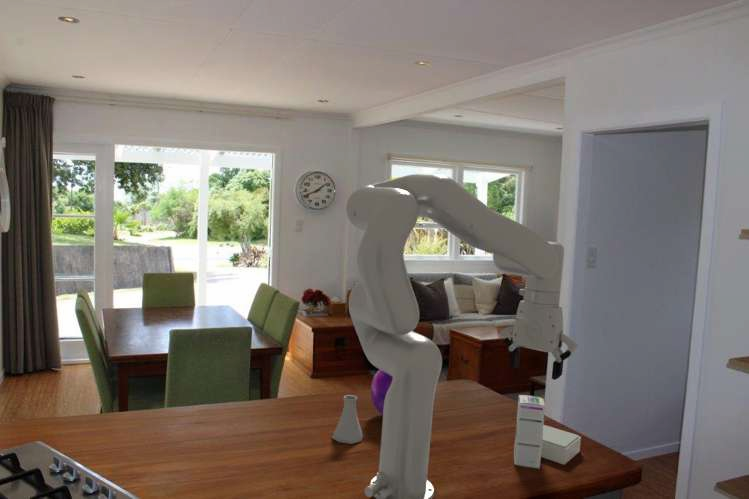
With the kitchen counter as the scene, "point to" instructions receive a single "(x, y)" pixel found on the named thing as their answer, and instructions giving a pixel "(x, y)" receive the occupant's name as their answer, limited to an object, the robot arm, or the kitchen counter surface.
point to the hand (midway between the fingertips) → (534, 373)
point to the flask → (348, 423)
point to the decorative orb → (380, 389)
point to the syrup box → (529, 431)
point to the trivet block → (559, 445)
